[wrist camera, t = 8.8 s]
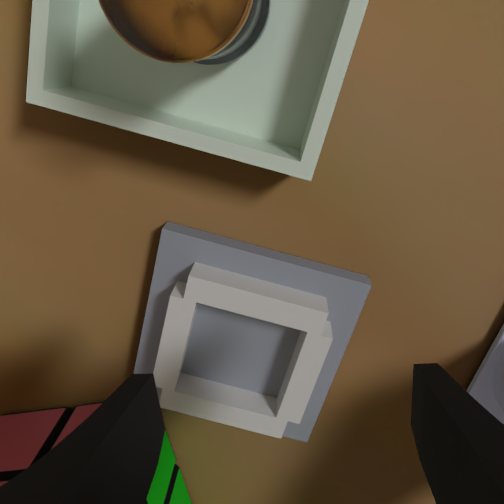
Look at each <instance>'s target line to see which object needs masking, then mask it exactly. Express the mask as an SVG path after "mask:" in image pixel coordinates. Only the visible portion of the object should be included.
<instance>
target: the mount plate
mask: <svg viewBox="0 0 504 504" xmlns="http://www.w3.org/2000/svg"><path fill="white" fill-rule="evenodd" d="M371 286H372V285H371V282H370V279H369V276H366V275H363V274H359V273H355V272H352V271H348V270H344V269H341V268H337V267H333V266H330V265H326V264H322V263H318V262H315V261H311V260H307V259H304V258H300V257H296V256H293V255H289V254H285V253H282V252H278V251H274V250H271V249H267V248H263V247H260V246H256V245H252V244H249V243H245V242H241V241H238V240H234V239H230V238H227V237H223V236H219V235H215V234H212V233H208V232H204V231H201V230H197V229H193V228H190V227H186V226H182V225H179V224H175V223H171V222H168V221H167V223H166V224H165V225H164V227H163V228H162V232H161V237H160V242H159V247H158V252H157V257H156V262H155V267H154V272H153V277H152V283H151V288H150V293H149V298H148V303H147V308H146V313H145V318H144V323H143V328H142V333H141V338H140V343H139V348H138V353H137V358H136V363H135V368H134V373H133V374H148V373H153V374H154V379H155V384H156V389H157V393H158V398H159V403H160V408H164V409H168V410H172V411H176V412H179V413H183V414H187V415H191V416H195V417H199V418H203V419H207V420H210V421H214V422H218V423H222V424H226V425H230V426H234V427H238V428H241V429H245V430H249V431H253V432H257V433H261V434H265V435H268V436H272V437H276V438H280V439H281V438H282V436H284V437H288V438H292V439H296V440H300V441H303V442H308V439H309V437H310V434H311V432H312V430H313V427H314V425H315V422H316V420H317V417H318V415H319V413H320V410H321V408H322V405H323V403H324V400H325V398H326V396H327V393H328V391H329V388H330V386H331V383H332V381H333V378H334V376H335V374H336V371H337V369H338V366H339V364H340V361H341V359H342V357H343V354H344V352H345V349H346V347H347V344H348V342H349V340H350V337H351V335H352V332H353V330H354V327H355V325H356V322H357V320H358V318H359V315H360V313H361V310H362V308H363V305H364V303H365V301H366V298H367V296H368V293H369V291H370V288H371Z"/></svg>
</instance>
